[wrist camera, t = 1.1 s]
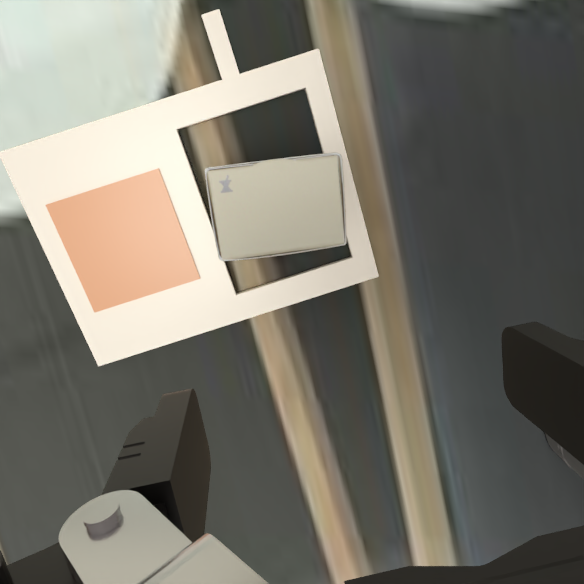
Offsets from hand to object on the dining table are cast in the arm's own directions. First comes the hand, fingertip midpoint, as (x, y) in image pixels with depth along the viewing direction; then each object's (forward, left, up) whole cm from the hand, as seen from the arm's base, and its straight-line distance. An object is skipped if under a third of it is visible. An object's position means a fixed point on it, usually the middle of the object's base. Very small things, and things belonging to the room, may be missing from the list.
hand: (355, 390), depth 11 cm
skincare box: (0, -4, -22) cm, 23 cm away
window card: (+5, -6, -22) cm, 24 cm away
